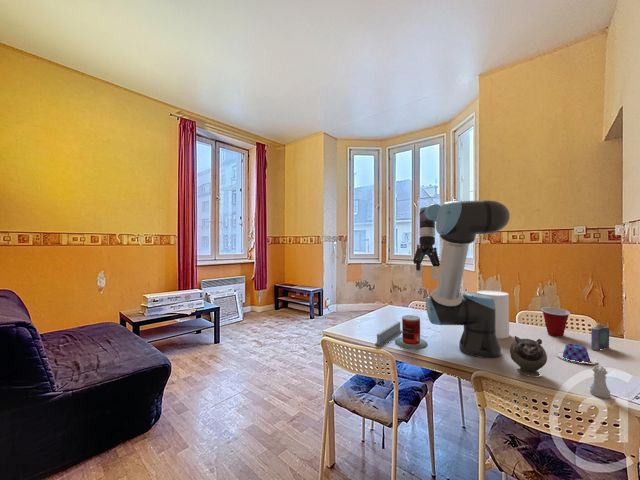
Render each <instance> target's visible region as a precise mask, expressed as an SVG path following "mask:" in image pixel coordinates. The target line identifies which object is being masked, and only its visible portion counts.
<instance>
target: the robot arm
mask: <svg viewBox="0 0 640 480" xmlns="http://www.w3.org/2000/svg"><path fill="white" fill-rule="evenodd" d="M418 215H419V241H418V242H419V244H416V251H415V253H414V258H413V259H412V262H413V264H414V265H415V271H416V272H415V273H416V274H415V277H416V278H423V264H422V262H423V260H424V258H425V256H427V257H428V258H429V260H430V263H431V265H432V266H431V280H437V282H436V288H434V289H433V290H432V291H431V295H428V296H426V297H425V307H426V314H427V317H428V320H429V322H430V323H431V324H432V325H436V326H437V325H439V326H463V331H462V333H461V336H460V339H459V343H458V345H459V347H458V348H459V350H460V351H462V352H463V353H465V354H467V355H470V356H473V357H474V356H475V357H478V358H488V359H489V358H490V359H491V358H498V357H500V356H501V355H502V348H501V344H500V343H499V342H500V341H499V338H497V337H496V330H495V329H496V327H495V310H496V309H495V301H494V299H493V298H491V297H488V296H485V295H480V294H477V293H473V292H464V293H463V294H460V291H461V287H462V281H463V276H464V272H465V271H464V270H465V267H466V261H467V255H468V251H469V246H470V244H472V243H474V241H475V239H476V235H484V234H493V233H497V232H498V231H499V232H500V230H502V229H504V228H505V227H506V226H507V225H508V223H509V221H510V217H511V214H510V210H509V208H508V207H507V206H506V205H504V204H503V203H501V202H499V201H496V200H453V201H446V202H444V203H442V205H440V204H438V203H432V204H430V205H428V206H427V205H426V206H422V207H420V208H419V213H418ZM436 232H437V234H439V237H440V239H441V240H442V249H441V256H440V258H439V255H438V251H437V247H434V245H435V244H436ZM438 267H439V269H438Z"/></svg>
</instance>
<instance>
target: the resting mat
mask: <svg viewBox="0 0 640 480" xmlns="http://www.w3.org/2000/svg"><path fill="white" fill-rule="evenodd" d="M394 343H395V345H397V346H399V347H401V348H405V349H411V350H422V349H424V348H427V347H428V342H427V341H426V340H424V339H422V338H420V343H419V344H416V345H410V344H406V343H404V342H403V340H402V337H400V336H399V337H397V338H395V339H394Z"/></svg>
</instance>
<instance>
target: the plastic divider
mask: <svg viewBox="0 0 640 480" xmlns="http://www.w3.org/2000/svg"><path fill="white" fill-rule="evenodd" d="M401 334H402V330H401V321H397V322H394V323H393V324H392V325H390V326H388V327H386V328H385V329H383V330H382V331H379V332H378V333H377V334H376V342H375V343H374V345H375V346H376V347H377V346H378V347H383V346H384V345H386V344H388V343H389V342H391V340H392V341H393V339H394V338H395V339H396V337H397V336H399V335H401Z"/></svg>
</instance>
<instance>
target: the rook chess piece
mask: <svg viewBox="0 0 640 480" xmlns="http://www.w3.org/2000/svg"><path fill="white" fill-rule="evenodd" d="M591 370H592V371H593V376H594V377H593V378H594V379H593V383H592V384H591V385H590V386H589V387H590V388H589V392H590V393H591V394H592V395H594V396H595V397H598V398H602V399H609V398H610V397H612V396H611V391H610V390H609V387H608V385H607V380H606V379H607V376H606V375H607V374H608V371H607V369H606V368H605V367H604V366H599V365H597V366H595V365H593V368H592V369H591Z"/></svg>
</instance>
